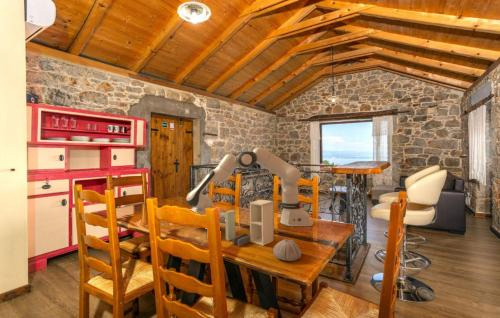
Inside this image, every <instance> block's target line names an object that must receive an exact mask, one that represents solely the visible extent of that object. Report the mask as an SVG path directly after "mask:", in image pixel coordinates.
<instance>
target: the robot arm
mask: <svg viewBox="0 0 500 318" xmlns="http://www.w3.org/2000/svg"><path fill="white" fill-rule="evenodd" d="M254 164H258V165H260V166H261V167H263V168H264V169H266V170H268V171H269V172H270V173H272V174H274V175H275V176H277V177H279V178H280V182H281V190H282V191H281V192H282V195H281V196H282V197H281V199H282V200H281V217H280V221H279V223H281V224H282V225H285V226H288V227H312V226H314V220H313V219H311V217H310V214H309V212H307V211H306V210H305V209H303V208H302V207H303V204H302V203H301V202H299V188H298V182H299V181H300V180H301V178H302V172H301V171H300V170H299V169H298V168H297V167H296V166H294V165H293V164H290V163H288V162H287V161H286V160H284V159H282V158H281V157H279V156H277V155H276V154H274V153H272V152H271V151H270V150H268V149H265V148H263V147H260V146H258V147H257V146H256V147H255V148H254V149H253V150H252V151H249V150H248V151H242V152H240V153H239V154H238V155H234V154H232V153H227V154H225V156H224V157H223V158H221V160H220V161H219V163H218V164H217V166H216V167H215V168H214V169H213V170H209V171H208V172H207V173H206V174H205V175H204V176H203V177H202V178H201V180H200V181H199V182H198V183H197V184H196V185H195V187H194V188H193V189H192V190H190V191H189V192H188V193H187V194H186V198H185V202H186V205H188V206H189V207H191V208H190V209H189V210H192V211H194V212H196V213H198V214H205V208H207V207H212V206H213V200H212V198H211V197H209V196H207V195H205V194H203V192H204V190H205V189H206V188H207V187H208V186H209V184H212V183H214V182H215V183H216V182H217V183H224V182H227V181H228V180H229V179H230V178H231V176H232V174H233V173H234V171H235V170H236V169H237V168H240V169H249V168H251V167H252V166H253V165H254ZM219 214H220V223H223V222H225V212H223V211H222V212H219Z"/></svg>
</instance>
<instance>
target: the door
mask: <svg viewBox="0 0 500 318" xmlns="http://www.w3.org/2000/svg"><path fill="white" fill-rule="evenodd" d="M224 213H225V221H224V222H225V241H228V242H229V241H231V240H232V241H233V238H234V237H236V211H235V210H234V209H232V210H228V211H225V212H224Z"/></svg>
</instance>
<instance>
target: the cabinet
mask: <svg viewBox="0 0 500 318" xmlns="http://www.w3.org/2000/svg"><path fill="white" fill-rule="evenodd" d="M274 202H275V201H273V200H267V199H258V200H253V201H249V233H243V234H239V235H237V236H235V237H234V238H233V239H232V245H233V246H234V245H237V247H241V246H244V245H247V244H249V243H253V244H257V245H259V246H262V247H263V246H266V245H268V244H269V243H272V242H273V241H275V212H274V210H275V206H274V205H275V203H274Z"/></svg>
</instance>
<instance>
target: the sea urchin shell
mask: <svg viewBox="0 0 500 318" xmlns="http://www.w3.org/2000/svg"><path fill="white" fill-rule="evenodd" d="M272 251H273V252H272V253H273V255H274V257H276V258H277V259H278V260H282V261H285V262H286V261H287V262H294V261H297V260H299V259H300V258H301V256H302V250H301V248H300V245H298V244H297V243H296V241H294V240H292V239H282V240H280V241H278V242H277V243H276V244H275V245H274V247H273V248H272Z"/></svg>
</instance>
